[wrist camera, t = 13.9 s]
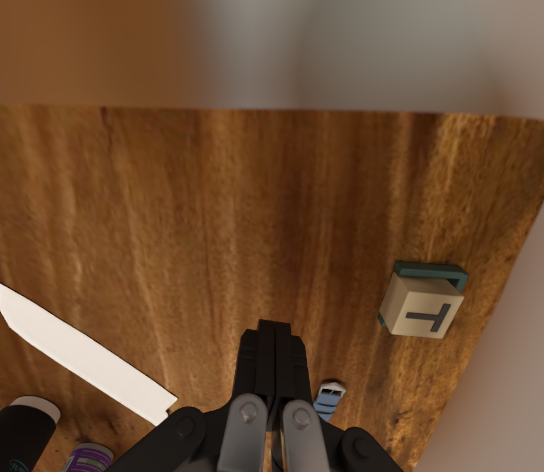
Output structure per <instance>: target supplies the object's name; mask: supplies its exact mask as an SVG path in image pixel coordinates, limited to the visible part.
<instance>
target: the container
mask: <svg viewBox="0 0 544 472" xmlns="http://www.w3.org/2000/svg"><path fill="white" fill-rule="evenodd" d="M113 458H114V455H113V453H112V452H111V451H110V450H109V449H108V448H106V447H104V446H102V445H99V444H94V443H82V444H79V445H77V446H76V447H75V448H74V450H73V451H72V453H71V455H70V456H69V458H68V460H67V461H66V463H65V465H64V466H63V468H62V470H61V472H103V471H104V470H106V469H107V468H108V467H109V466H110V465H111V463H112V460H113Z"/></svg>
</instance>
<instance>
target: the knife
mask: <svg viewBox="0 0 544 472" xmlns="http://www.w3.org/2000/svg"><path fill="white" fill-rule="evenodd" d="M0 311H1V313H2V315H3V316H4V318H5V320H6V322H7V323H8V325H9V327H10V328H12V329H13V330H14V331H15V332H16V333H18V334H19V335H20V336H21V337H22V338H24V339H25V340H26V341H27V342H29V343H30V344H32V345H33V346H34V347H36V348H37V349H39V350H40V351H42V352H43V353H45V354H46V355H48V356H49V357H51V358H52V359H54V360H55V361H57V362H58V363H60V364H61V365H63V366H64V367H66V368H68V369H69V370H71V371H72V372H74V373H75V374H77V375H78V376H80V377H81V378H83V379H85V380H86V381H88V382H89V383H91V384H92V385H94V386H95V387H97V388H98V389H100V390H101V391H103V392H104V393H106V394H108V395H109V396H111V397H112V398H114V399H115V400H117V401H118V402H120V403H121V404H123V405H124V406H126V407H128V408H129V409H131V410H132V411H134V412H135V413H137V414H138V415H140V416H142V417H143V418H145V419H147V420H148V421H150V422H151V423H153V424H154V425H155V426H158V425H159V424H160V423H161V422H162V421H164V420H165V419H166V418H167V416H168V414H167V412H166V410H167V409H168V408H169V407H170V406H171V405H172V404H173V403H174V402H175V401H176V400H177V399H178V398H176V397H175V396H173V395H172V394H171V393H169V392H168V391H166V390H165V389H164V388H162V387H161V386H160V385H158V384H157V383H156V382H154V381H153V380H151V379H150V378H149V377H147V376H146V375H144V374H143V373H141V372H140V371H138V370H137V369H135V368H134V367H132V366H131V365H129V364H128V363H126V362H125V361H123V360H122V359H120V358H119V357H118V356H116V355H115V354H113V353H112V352H110V351H109V350H107V349H106V348H104V347H103V346H101V345H100V344H98V343H97V342H95V341H94V340H92V339H91V338H89V337H88V336H86V335H85V334H83V333H81V332H80V331H78V330H76V329H75V328H73V327H71V326H70V325H68V324H66V323H65V322H63V321H61V320H60V319H58V318H57V317H55V316H54V315H52V314H50V313H49V312H47V311H46V310H44V309H43V308H41V307H40V306H38V305H36V304H35V303H33V302H31V301H30V300H28V299H26V298H25V297H23V296H21V295H20V294H18V293H16V292H14V291H12V290H11V289H9V288H7V287H5V286H3V285H2V284H0Z"/></svg>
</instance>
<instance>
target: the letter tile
mask: <svg viewBox="0 0 544 472" xmlns="http://www.w3.org/2000/svg"><path fill="white" fill-rule="evenodd" d="M463 299H464V296H463V295H462V294H461V293H460V292H459V291H458V290H457V289H456V288H455V287H454V286H452V285H451V284H450V283H449V282H448V281H447V280H446V279H445V278H436V277H421V276H406V275H399V274H398V273H397V271H394V272H393V275H392V277H391V280H390V283H389V285H388V288H387V291H386V293H385V296H384V299H383V301H382V304H381V307H380V309H379V312H380V314H381V315H382V317H383V319H384V321H385V323H386V325H387V327H388V329H389V331H390V332H391V334H397V335H408V336H419V337H429V338H440V339H441V338H443V336H444V334H445V332H446V330H447V328H448V327H449V325H450V323H451V321H452V319H453V317H454V315H455V314H456V312H457V310H458V308H459V306H460V304H461V302H462V301H463Z"/></svg>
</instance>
